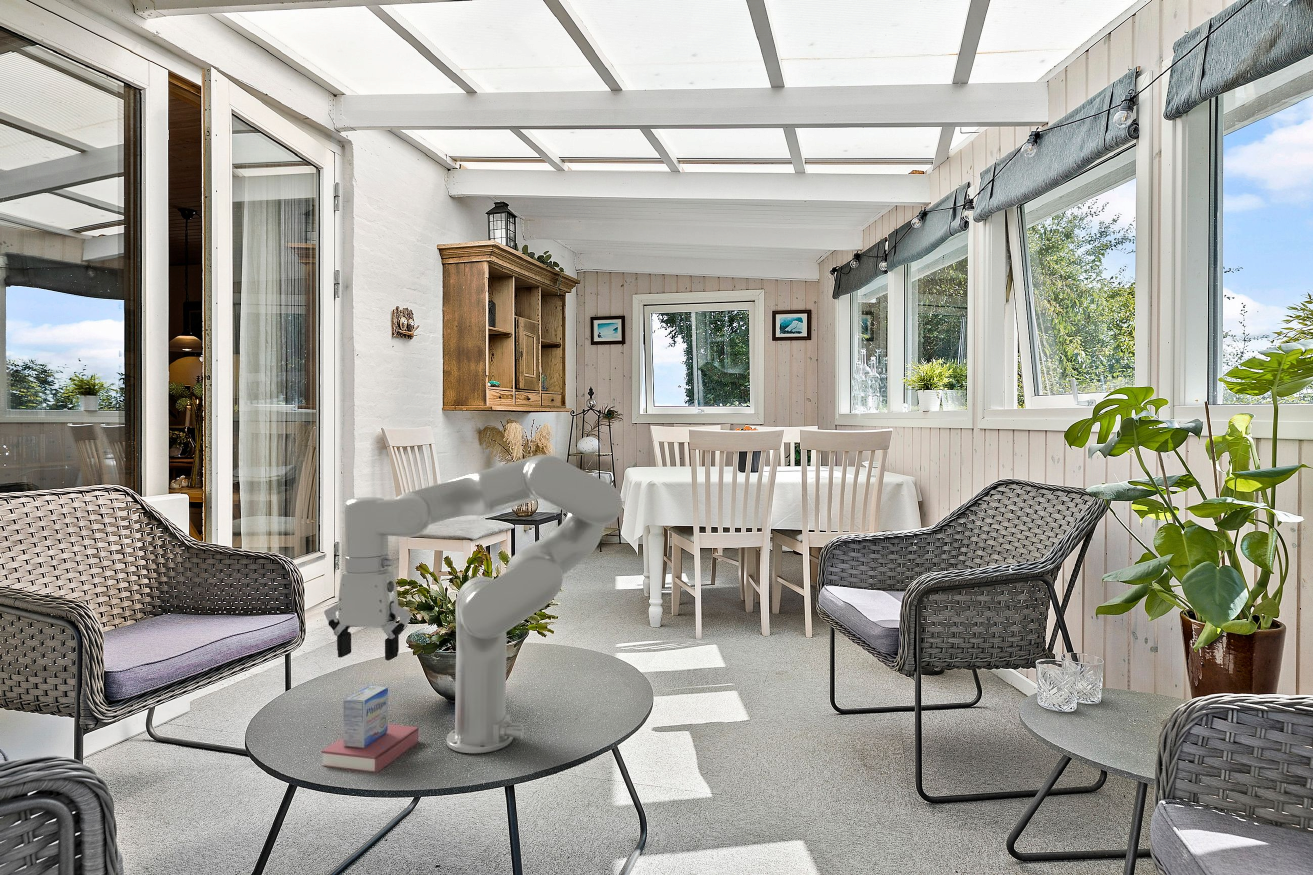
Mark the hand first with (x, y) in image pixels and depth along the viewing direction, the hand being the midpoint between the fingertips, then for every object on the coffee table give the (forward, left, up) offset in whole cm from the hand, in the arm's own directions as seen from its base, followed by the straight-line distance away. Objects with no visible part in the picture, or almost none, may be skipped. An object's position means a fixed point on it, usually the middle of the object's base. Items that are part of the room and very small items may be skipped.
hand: (367, 656), depth 139 cm
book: (-1, -1, -18) cm, 18 cm away
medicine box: (0, 0, -16) cm, 16 cm away
